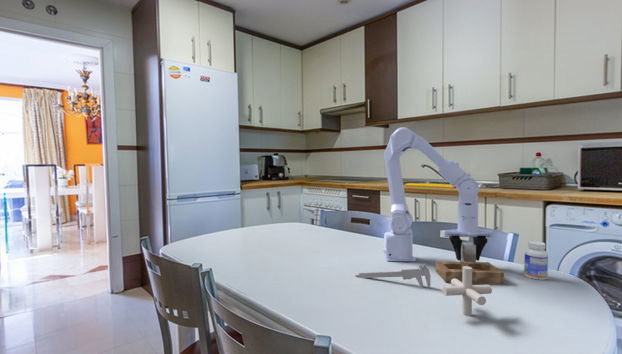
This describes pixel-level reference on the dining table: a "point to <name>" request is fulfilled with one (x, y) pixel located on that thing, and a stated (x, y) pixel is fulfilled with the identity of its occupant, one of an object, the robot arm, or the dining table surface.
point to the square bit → (468, 252)
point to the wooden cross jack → (467, 291)
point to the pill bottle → (536, 261)
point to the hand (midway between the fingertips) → (467, 259)
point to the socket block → (480, 272)
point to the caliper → (401, 274)
